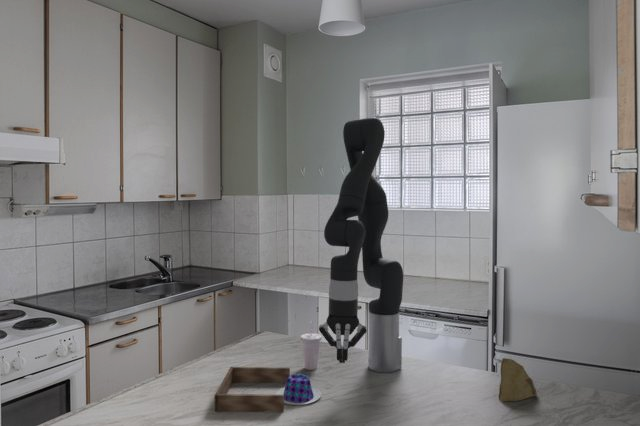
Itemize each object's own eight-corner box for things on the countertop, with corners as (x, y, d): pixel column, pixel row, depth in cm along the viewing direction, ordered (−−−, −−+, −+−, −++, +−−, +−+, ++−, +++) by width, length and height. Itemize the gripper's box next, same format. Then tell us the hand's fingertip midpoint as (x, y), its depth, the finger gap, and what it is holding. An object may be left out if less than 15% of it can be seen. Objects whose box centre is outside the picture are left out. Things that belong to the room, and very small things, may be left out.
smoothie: (322, 364, 148) (322, 319, 147) (320, 371, 141) (320, 325, 141) (302, 363, 148) (302, 318, 148) (299, 371, 142) (299, 324, 141)
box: (289, 381, 134) (289, 367, 134) (283, 412, 116) (283, 396, 116) (230, 380, 135) (230, 366, 135) (214, 411, 116) (214, 395, 116)
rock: (535, 381, 129) (497, 372, 132) (543, 363, 124) (502, 354, 127) (536, 418, 122) (495, 408, 125) (544, 402, 116) (501, 391, 119)
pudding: (327, 391, 129) (327, 372, 128) (311, 410, 117) (311, 389, 117) (286, 385, 133) (286, 366, 132) (267, 403, 121) (267, 383, 121)
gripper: (367, 293, 127) (366, 357, 128) (318, 292, 128) (317, 356, 128) (369, 300, 120) (368, 368, 120) (317, 298, 120) (316, 366, 121)
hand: (341, 361), depth 124 cm, fingers closed
